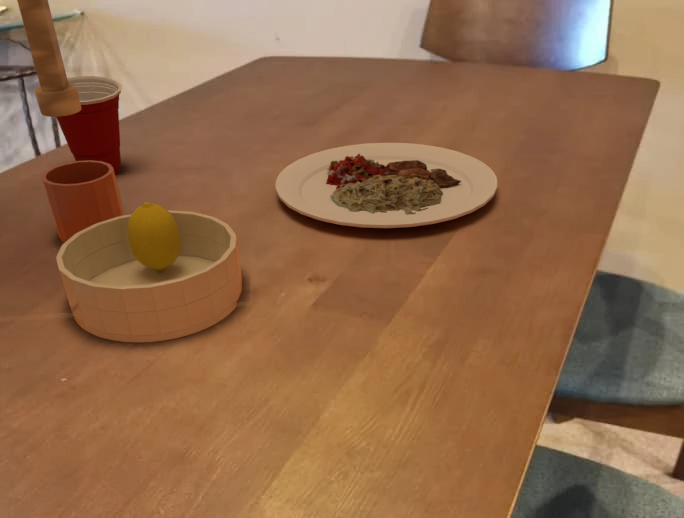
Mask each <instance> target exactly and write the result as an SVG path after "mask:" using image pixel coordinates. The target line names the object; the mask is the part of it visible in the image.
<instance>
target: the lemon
mask: <svg viewBox="0 0 684 518" xmlns="http://www.w3.org/2000/svg"><path fill="white" fill-rule="evenodd" d="M167 210H168V209H167V208H165V207H163V206H161V205H159V204H157V203H152V202H151V201H145V202H143V204H142V205H139V206H138V207H137V208H135V210H133V212H132V213H130V214H131V216H130V218H129V221H128V241H129V245H130V248H131V251H132V253H133V254H134V256H135V257H136V259H137V260H138V261H139V262H140V263H141V264H142V265H144V266H146V267H148V268H151V269H155V270H157V271H158V272H164V270H165V269H166V268H167V267H169V266H170V265H172V264H173V263H174V262H175V261H176V259H177V257H178V256H179V253H180V247H181V238H180V233H179V229H178V227H177V224H176V222H175V220H174V218H173V216H172V215H171V214H170V212H169V211H167Z"/></svg>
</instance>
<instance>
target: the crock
mask: <svg viewBox="0 0 684 518" xmlns="http://www.w3.org/2000/svg"><path fill="white" fill-rule="evenodd" d="M40 177H41V181H42V185H43V188H44V192H45V195H46V198H47V201H48V204H49V209H50V211H51V215H52V218H53V222H54V225H55V228H56V232H57V235H58V237H59V240H60V241H61V242H62V244H64V243H65V242H66V241H67V240H69V239H70V238H71V237H72V236H73V235H75V234H76V233H78V232H80V231H82V230H84V229H86V228H88V227H90V226H92V225H94V224H96V223H99V222H103V221H106V220H109V219H112V218H115V217H119V216H123V215H125V211H124V208H123V203H122V199H121V195H120V192H119V187H118V186H119V185H118V182H117V178H116V174H115V172H114V168H113V167H112V166H111V164H108V163H105V162H102V161H93V160H87V161H75V160H74V161H71V162H65V163H62V164H58V165H56V166H53V167H50V168H49V169H47V170H45V171H44V172H43V173H42V175H41V176H40Z"/></svg>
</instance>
